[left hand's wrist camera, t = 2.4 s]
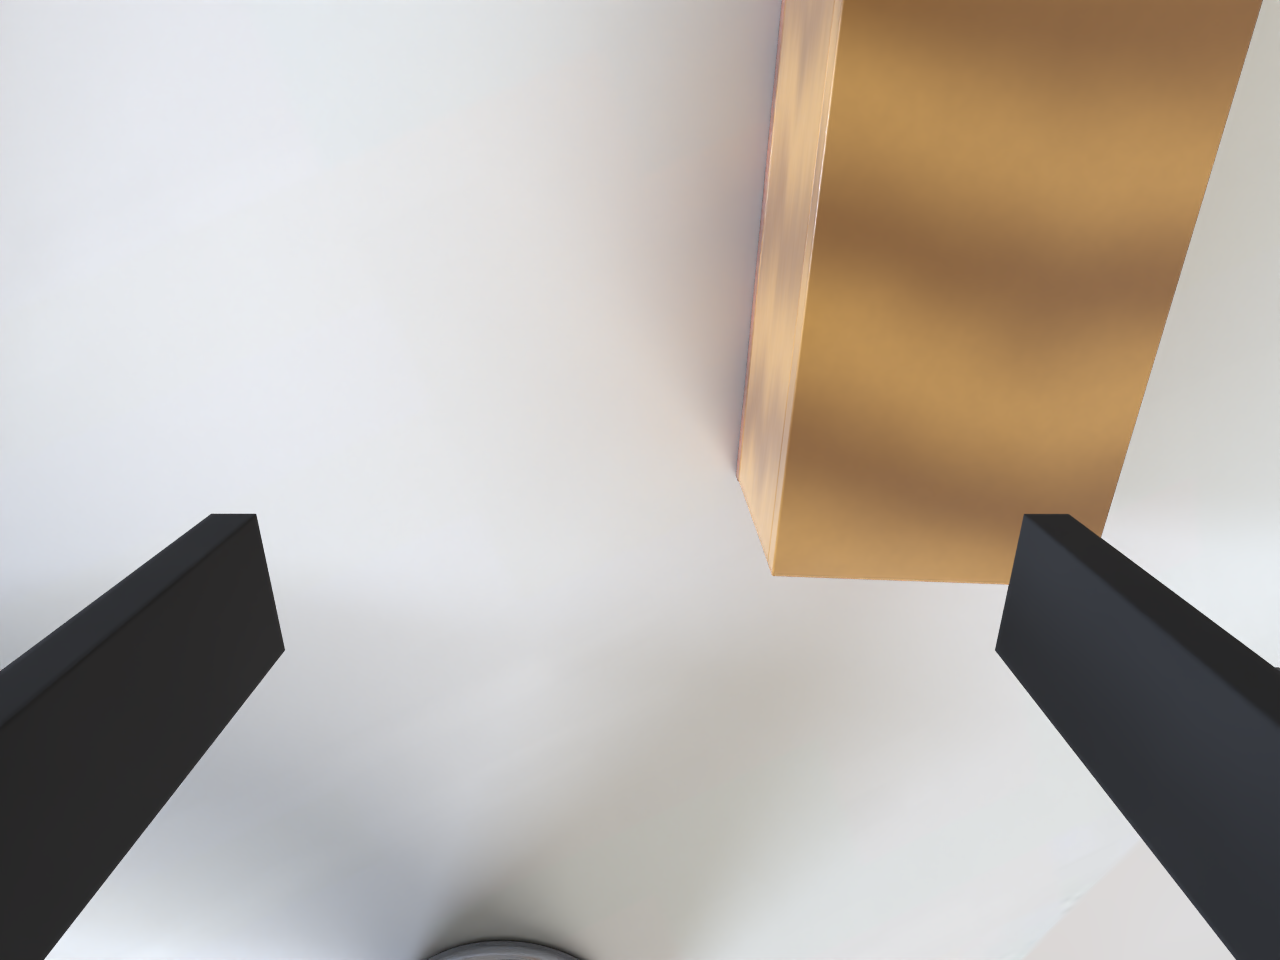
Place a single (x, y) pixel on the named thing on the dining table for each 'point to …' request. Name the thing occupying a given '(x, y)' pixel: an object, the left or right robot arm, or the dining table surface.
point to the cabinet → (968, 267)
